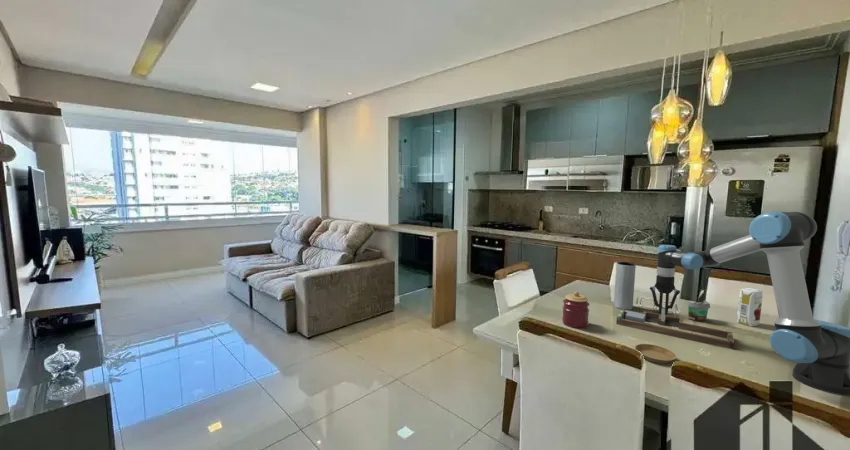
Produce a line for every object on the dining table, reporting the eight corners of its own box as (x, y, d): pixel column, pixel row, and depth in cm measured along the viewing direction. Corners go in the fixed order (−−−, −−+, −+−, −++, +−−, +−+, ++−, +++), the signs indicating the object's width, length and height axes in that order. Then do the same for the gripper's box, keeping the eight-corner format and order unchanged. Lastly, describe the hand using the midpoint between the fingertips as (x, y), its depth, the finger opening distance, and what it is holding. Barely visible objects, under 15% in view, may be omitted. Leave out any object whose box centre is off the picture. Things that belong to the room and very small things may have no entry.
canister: (593, 326, 180) (595, 293, 178) (575, 330, 176) (576, 296, 174) (574, 317, 192) (576, 287, 190) (556, 321, 188) (558, 289, 186)
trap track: (733, 349, 155) (734, 340, 154) (616, 323, 184) (616, 316, 183) (729, 333, 173) (730, 325, 172) (623, 312, 201) (623, 305, 201)
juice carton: (734, 322, 187) (737, 288, 185) (744, 320, 190) (747, 286, 188) (751, 327, 180) (755, 292, 178) (761, 325, 183) (765, 290, 181)
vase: (610, 305, 213) (612, 262, 210) (622, 303, 216) (625, 261, 213) (623, 310, 204) (626, 265, 201) (636, 308, 207) (639, 264, 204)
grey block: (642, 328, 179) (643, 318, 179) (625, 324, 184) (625, 315, 184) (644, 323, 185) (645, 314, 185) (627, 319, 190) (628, 311, 190)
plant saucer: (677, 356, 148) (678, 351, 148) (673, 370, 138) (673, 363, 137) (638, 346, 158) (638, 340, 158) (631, 358, 147) (631, 352, 147)
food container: (697, 323, 184) (699, 305, 183) (686, 319, 190) (687, 302, 189) (714, 321, 188) (716, 303, 187) (702, 317, 194) (704, 300, 192)
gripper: (681, 275, 174) (678, 321, 176) (650, 272, 182) (648, 315, 184) (681, 278, 168) (678, 325, 170) (649, 274, 176) (647, 319, 178)
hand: (662, 320), depth 177 cm, fingers closed
